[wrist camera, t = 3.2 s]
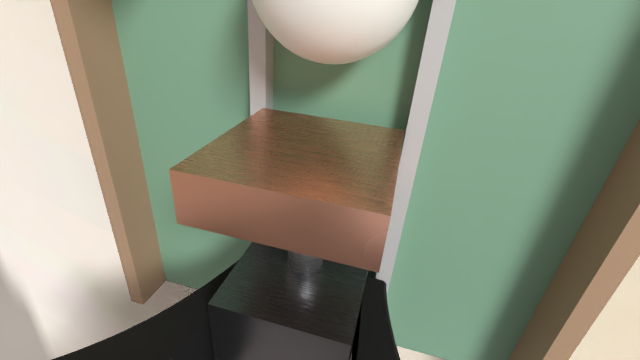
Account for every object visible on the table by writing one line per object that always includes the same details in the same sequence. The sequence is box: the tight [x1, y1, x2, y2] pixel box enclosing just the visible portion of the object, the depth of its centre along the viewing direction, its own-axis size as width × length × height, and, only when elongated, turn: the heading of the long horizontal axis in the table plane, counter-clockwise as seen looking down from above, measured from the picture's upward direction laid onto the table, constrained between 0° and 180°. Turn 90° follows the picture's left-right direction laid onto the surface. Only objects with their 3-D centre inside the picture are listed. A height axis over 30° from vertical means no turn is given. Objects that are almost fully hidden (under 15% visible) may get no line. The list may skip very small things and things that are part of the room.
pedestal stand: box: [169, 108, 404, 360], centre depth 10 cm, size 9×4×5 cm, turn 175°
